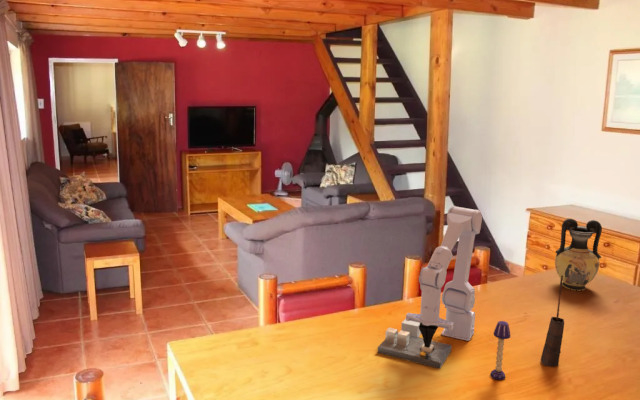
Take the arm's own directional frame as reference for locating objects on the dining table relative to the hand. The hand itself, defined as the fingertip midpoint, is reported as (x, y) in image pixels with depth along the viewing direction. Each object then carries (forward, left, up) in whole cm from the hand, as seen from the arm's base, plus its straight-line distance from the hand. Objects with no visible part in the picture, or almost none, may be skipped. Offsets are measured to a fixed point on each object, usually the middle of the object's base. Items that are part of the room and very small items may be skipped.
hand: (427, 346), depth 172 cm
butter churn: (-35, -13, -3) cm, 37 cm away
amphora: (-37, -91, -3) cm, 98 cm away
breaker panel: (+4, 0, -3) cm, 5 cm away
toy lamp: (-22, +2, -3) cm, 22 cm away
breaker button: (0, 0, -3) cm, 3 cm away
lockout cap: (+9, -12, -3) cm, 15 cm away
